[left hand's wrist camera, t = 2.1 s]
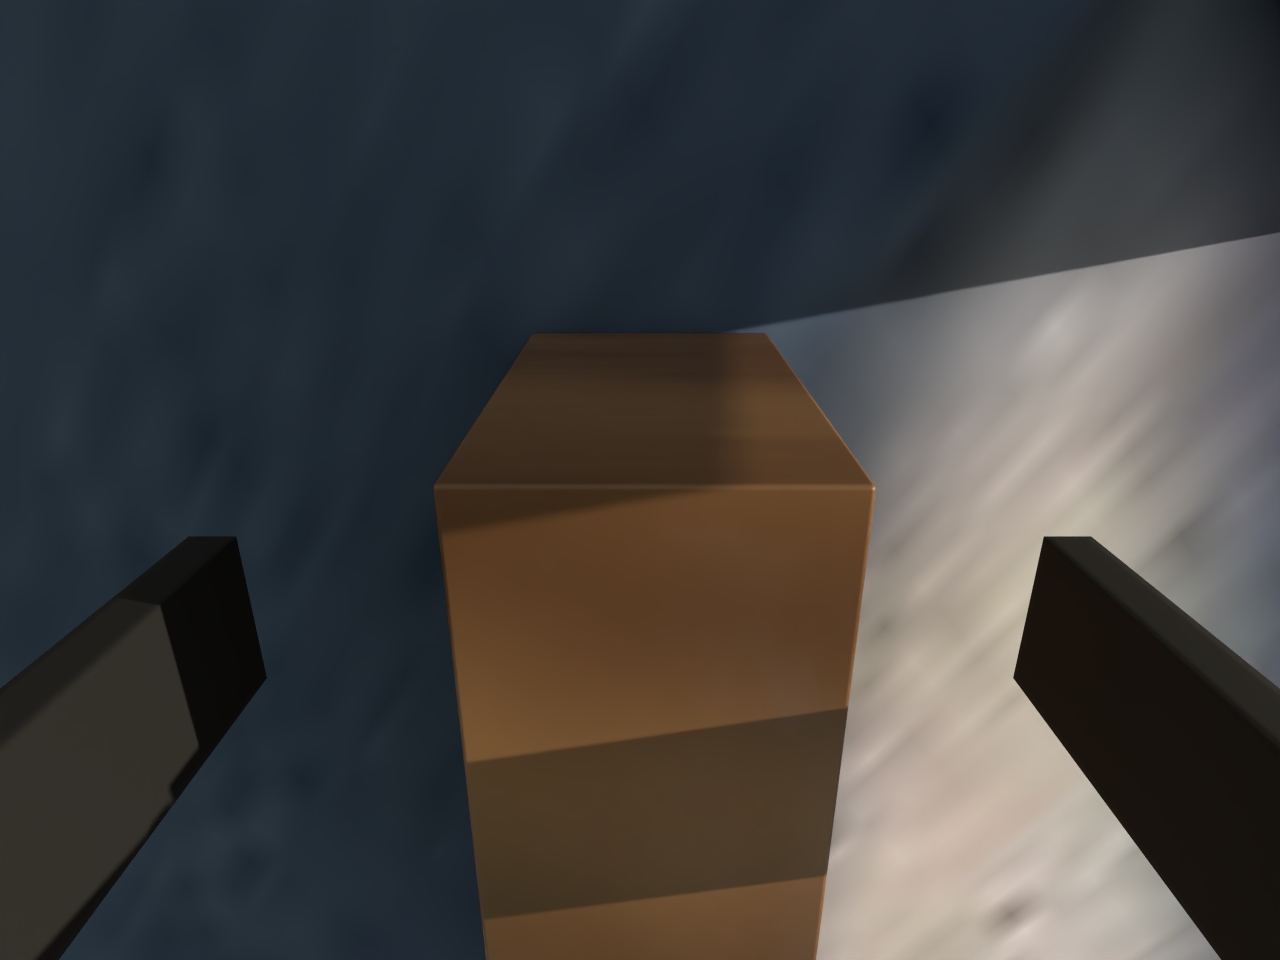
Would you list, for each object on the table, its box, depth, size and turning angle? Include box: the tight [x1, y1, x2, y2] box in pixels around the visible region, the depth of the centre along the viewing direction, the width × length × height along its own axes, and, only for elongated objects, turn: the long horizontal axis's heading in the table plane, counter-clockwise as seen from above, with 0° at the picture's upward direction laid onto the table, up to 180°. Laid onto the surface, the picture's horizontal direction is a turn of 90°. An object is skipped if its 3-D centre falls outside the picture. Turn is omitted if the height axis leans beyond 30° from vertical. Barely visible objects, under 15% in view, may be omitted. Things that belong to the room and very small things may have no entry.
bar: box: [433, 333, 876, 960], centre depth 17 cm, size 24×5×8 cm, turn 0°
